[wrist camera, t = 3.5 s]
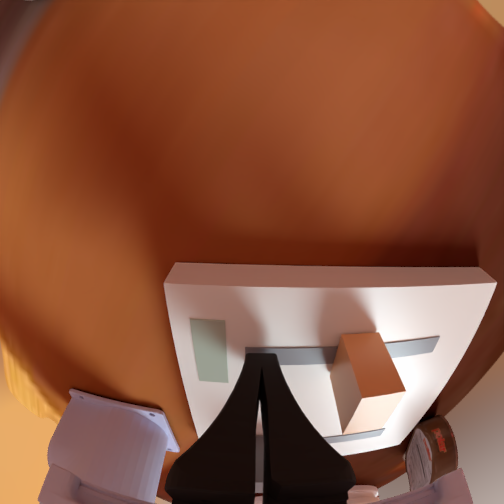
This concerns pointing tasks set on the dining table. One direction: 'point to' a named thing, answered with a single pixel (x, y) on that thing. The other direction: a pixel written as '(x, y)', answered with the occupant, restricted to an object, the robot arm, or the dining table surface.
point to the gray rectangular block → (259, 464)
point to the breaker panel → (322, 333)
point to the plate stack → (351, 495)
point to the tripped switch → (364, 383)
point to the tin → (430, 452)
